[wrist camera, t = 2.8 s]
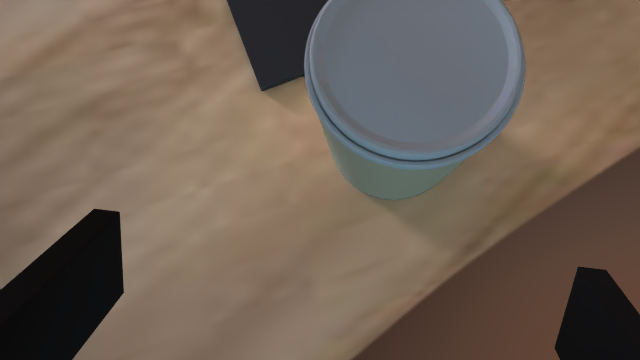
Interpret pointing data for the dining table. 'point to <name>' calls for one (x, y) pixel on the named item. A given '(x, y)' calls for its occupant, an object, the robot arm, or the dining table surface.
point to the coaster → (275, 36)
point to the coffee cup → (411, 87)
